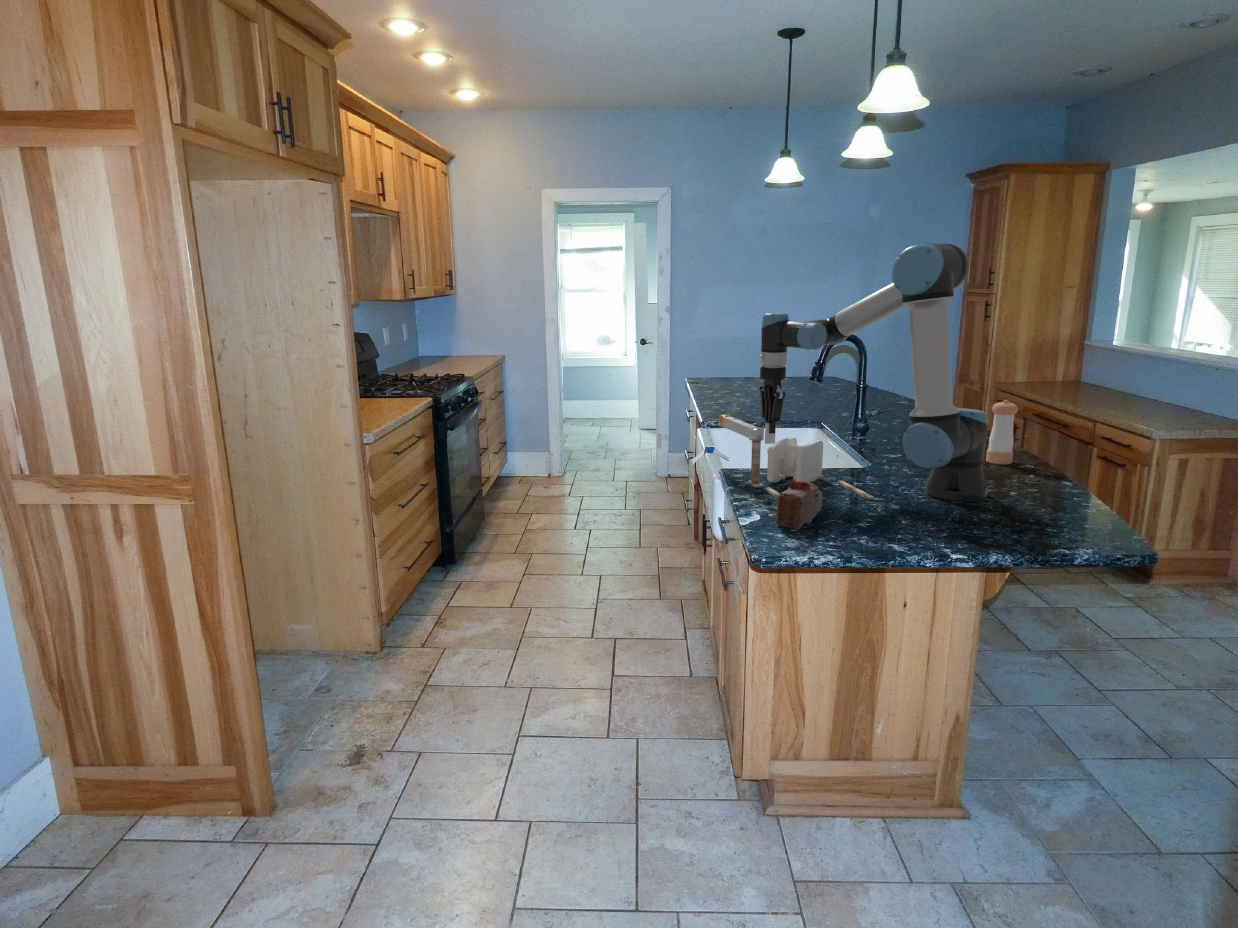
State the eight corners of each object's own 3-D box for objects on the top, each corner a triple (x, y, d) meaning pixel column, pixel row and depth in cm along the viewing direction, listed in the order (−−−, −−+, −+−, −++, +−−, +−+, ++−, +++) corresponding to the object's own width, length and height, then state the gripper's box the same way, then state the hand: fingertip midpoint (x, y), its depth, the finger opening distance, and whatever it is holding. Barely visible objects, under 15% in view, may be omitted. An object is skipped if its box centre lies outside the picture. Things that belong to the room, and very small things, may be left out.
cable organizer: (799, 490, 202) (801, 449, 199) (764, 484, 208) (766, 444, 205) (822, 478, 213) (824, 439, 210) (788, 472, 219) (790, 434, 216)
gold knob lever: (727, 424, 225) (728, 414, 224) (766, 440, 203) (766, 429, 202) (716, 425, 224) (716, 415, 223) (753, 441, 202) (753, 430, 201)
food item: (792, 510, 186) (794, 472, 184) (823, 514, 182) (825, 476, 180) (773, 526, 175) (774, 486, 173) (805, 531, 171) (807, 491, 168)
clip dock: (873, 499, 193) (876, 452, 189) (786, 508, 187) (788, 460, 184) (826, 475, 216) (828, 432, 212) (747, 482, 210) (748, 439, 207)
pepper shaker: (1016, 464, 223) (1024, 402, 218) (992, 464, 223) (999, 402, 218) (1005, 458, 230) (1012, 397, 225) (981, 458, 230) (988, 398, 225)
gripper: (752, 363, 223) (749, 439, 229) (771, 369, 211) (767, 449, 217) (775, 362, 225) (771, 437, 231) (794, 368, 212) (790, 447, 219)
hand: (769, 442), depth 224 cm, fingers closed
